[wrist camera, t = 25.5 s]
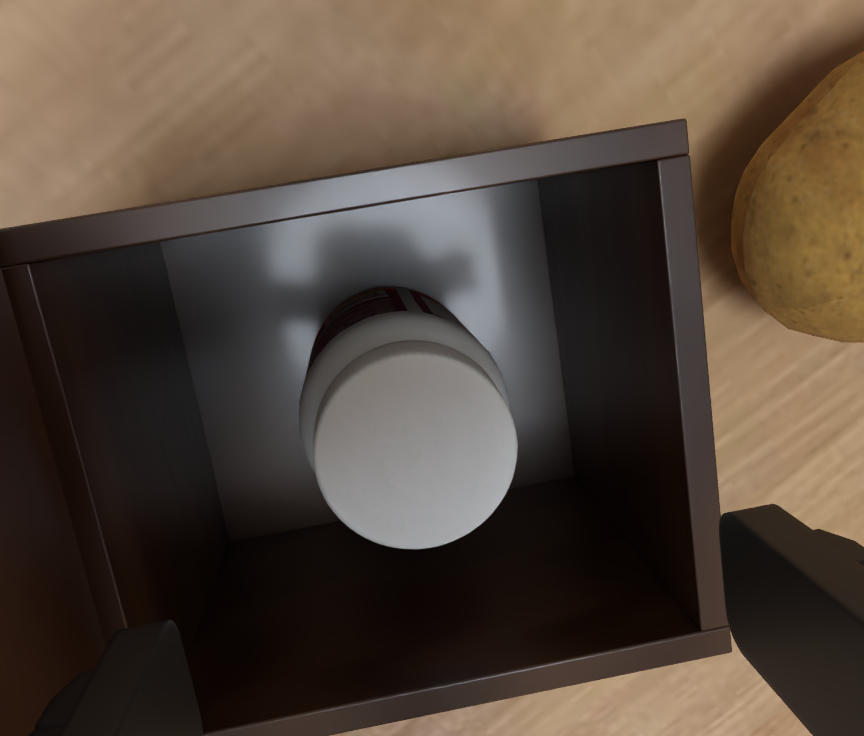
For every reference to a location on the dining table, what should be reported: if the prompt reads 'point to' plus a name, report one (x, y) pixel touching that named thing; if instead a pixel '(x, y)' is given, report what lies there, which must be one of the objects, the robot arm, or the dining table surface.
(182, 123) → the dining table surface
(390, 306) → the pill bottle
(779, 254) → the potato
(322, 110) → the dining table surface
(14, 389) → the lid
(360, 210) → the chest
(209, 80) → the dining table surface
